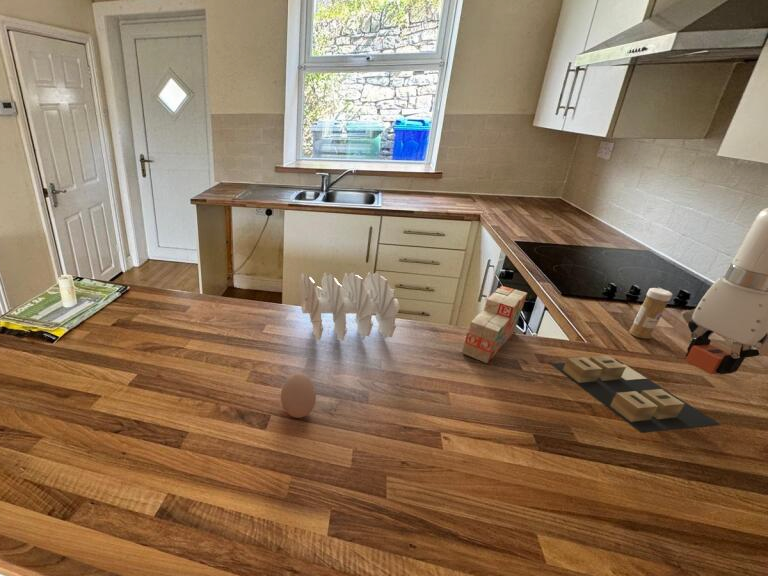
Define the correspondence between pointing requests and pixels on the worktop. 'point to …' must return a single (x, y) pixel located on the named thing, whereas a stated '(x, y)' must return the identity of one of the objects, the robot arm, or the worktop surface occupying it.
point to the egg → (298, 395)
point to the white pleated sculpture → (350, 303)
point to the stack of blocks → (494, 324)
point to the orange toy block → (706, 357)
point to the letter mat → (639, 383)
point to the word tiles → (624, 402)
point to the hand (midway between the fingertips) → (708, 363)
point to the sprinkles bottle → (650, 312)
